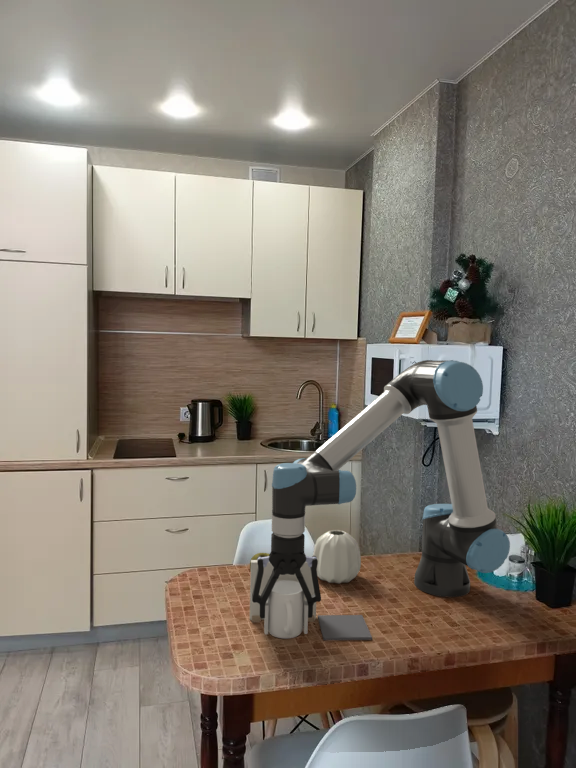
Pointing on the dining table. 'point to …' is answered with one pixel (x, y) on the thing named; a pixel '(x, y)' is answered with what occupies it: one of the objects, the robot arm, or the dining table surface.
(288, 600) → the mug
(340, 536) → the vase
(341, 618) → the pad
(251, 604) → the screen
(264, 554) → the apple
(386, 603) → the dining table surface
